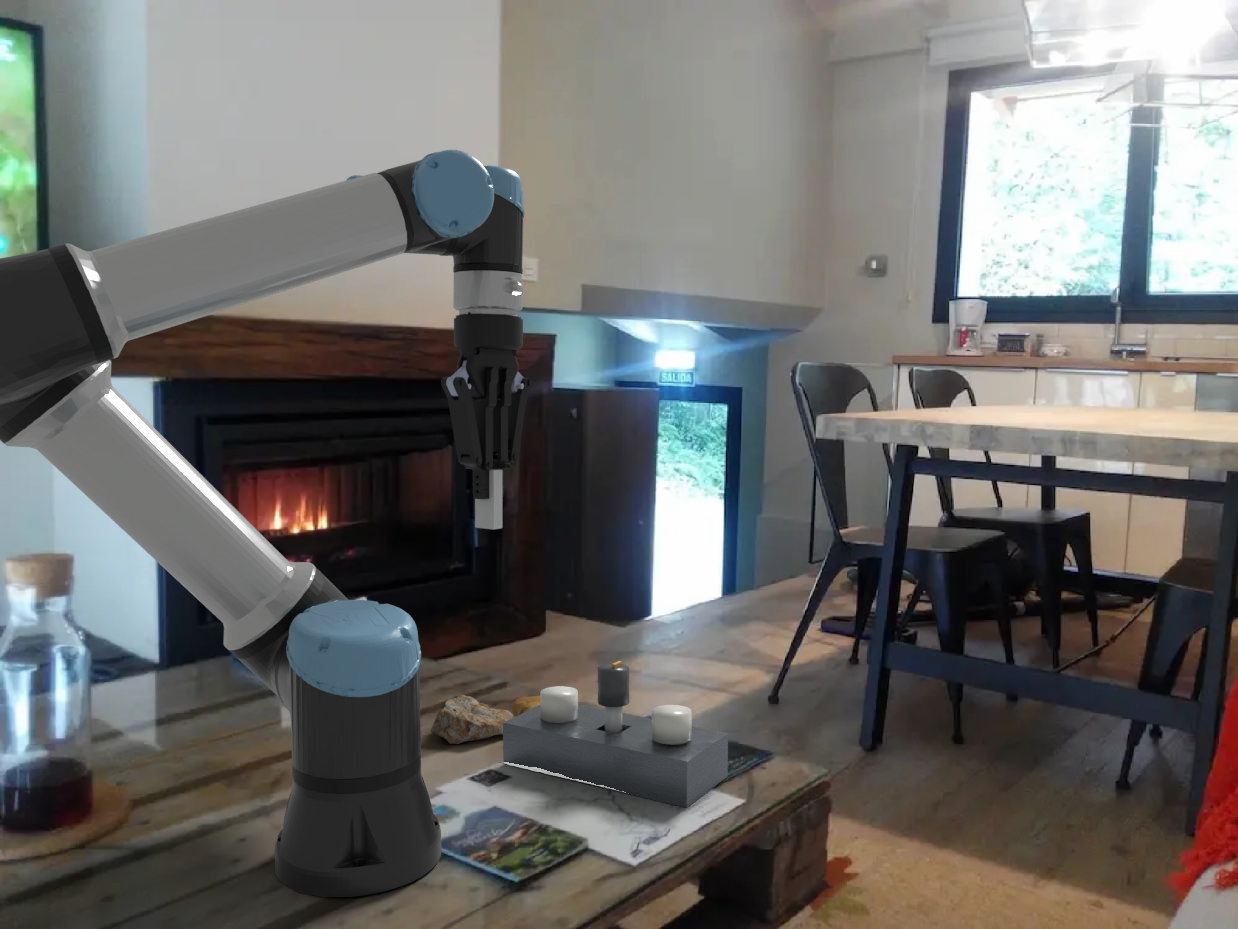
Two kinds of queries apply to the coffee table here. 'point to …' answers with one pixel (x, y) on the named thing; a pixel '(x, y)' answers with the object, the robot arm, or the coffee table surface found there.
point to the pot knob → (613, 693)
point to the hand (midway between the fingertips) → (488, 527)
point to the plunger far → (559, 704)
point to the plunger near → (671, 724)
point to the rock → (468, 720)
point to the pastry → (525, 704)
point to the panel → (619, 755)
